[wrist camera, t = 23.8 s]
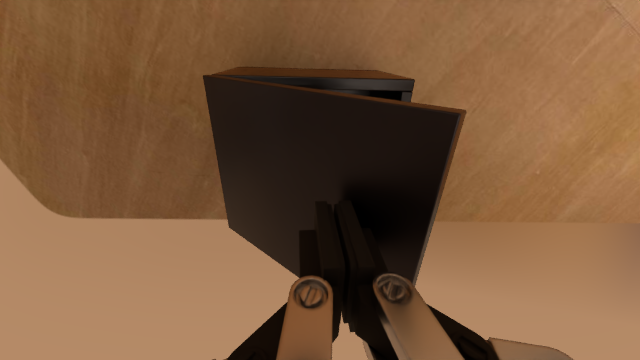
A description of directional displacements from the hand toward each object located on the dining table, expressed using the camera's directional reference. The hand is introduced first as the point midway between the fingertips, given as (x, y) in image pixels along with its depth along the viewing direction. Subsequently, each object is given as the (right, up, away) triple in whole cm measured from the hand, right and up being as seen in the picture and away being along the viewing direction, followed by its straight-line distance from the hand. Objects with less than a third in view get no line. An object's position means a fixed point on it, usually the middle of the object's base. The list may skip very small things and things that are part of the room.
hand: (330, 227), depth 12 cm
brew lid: (-2, +2, +3) cm, 4 cm away
